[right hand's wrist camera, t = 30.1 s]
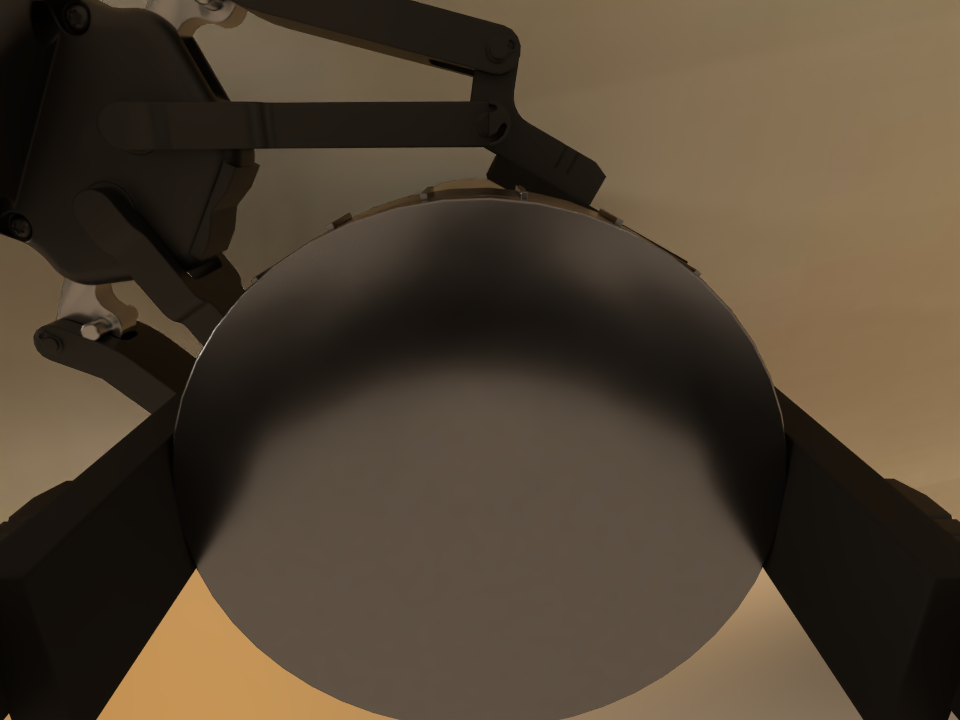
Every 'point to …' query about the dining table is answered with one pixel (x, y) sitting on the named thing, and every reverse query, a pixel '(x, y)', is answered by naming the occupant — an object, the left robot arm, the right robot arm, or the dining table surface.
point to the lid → (479, 459)
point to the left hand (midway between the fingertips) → (585, 391)
